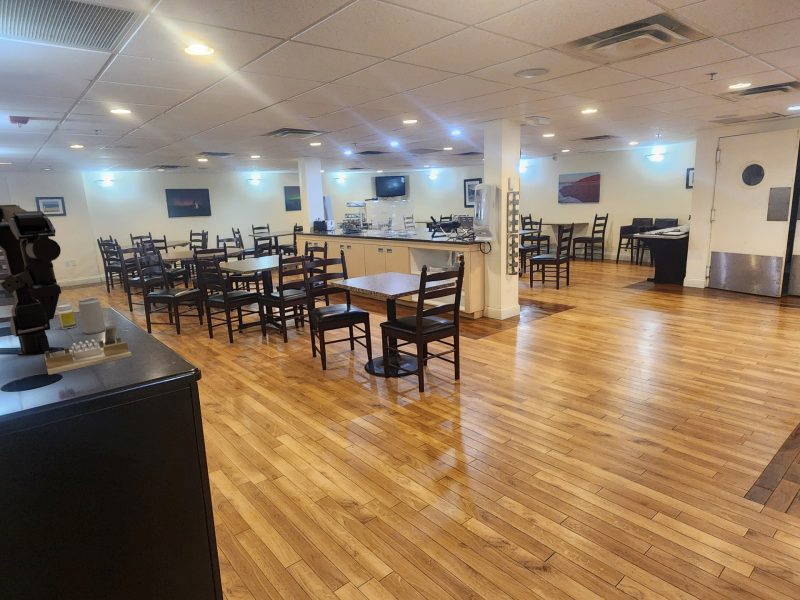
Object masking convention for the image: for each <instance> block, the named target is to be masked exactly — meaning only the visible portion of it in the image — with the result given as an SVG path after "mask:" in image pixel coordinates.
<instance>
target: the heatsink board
mask: <svg viewBox="0 0 800 600" xmlns="http://www.w3.org/2000/svg"><path fill="white" fill-rule="evenodd" d="M115 341H116V343H115V344H110V345H105V343H104V340H98V342H97V341H96V340H95V339H93V338H92V339H91V342H89V340H85V343H84V342H82V341H79V342H78V344H76V343H77V342H74V343H72V345H71V349H70V348H69V347H68V346H67V347H63V350H62V351H63V352H64V355H59V356H54V357H53V356H52V355H51V353H50V351H49V350H47V351H45V352H44V356H43V357H44V360H45V364H46V370H47V373H48V376H49V375H54V374H57V373H64V372H66V371H67V372H68V371H72V370H76V369H80V368H85V367H90V366H94V365H99V364H103V363H107V362H111V361H116V360H121V359H125V358H130V357H132V352H131V351H130V350H129V346H128V342H127V341H122V338H121V337H120V336H117V337H116V338H115Z"/></svg>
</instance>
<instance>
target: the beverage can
mask: <svg viewBox="0 0 800 600" xmlns="http://www.w3.org/2000/svg"><path fill="white" fill-rule="evenodd" d="M77 305H78V309H79V310H78V311H79V315H80V320H81V325H82V330H83V333H85V334H86V335H93V334H98V333H99V334H100V333H102V332H104V331H105V327H106V324H105V319H104V315H103V309H102V306H101V300H100V299H99V297H98V296H91V297H84V298H80V299H78V303H77ZM103 330H104V331H103Z"/></svg>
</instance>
